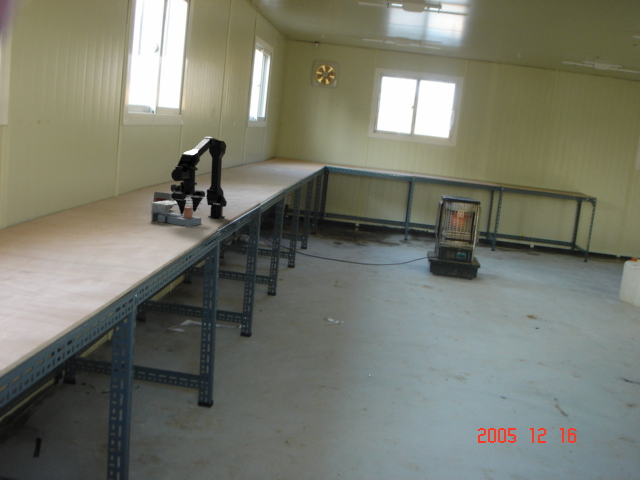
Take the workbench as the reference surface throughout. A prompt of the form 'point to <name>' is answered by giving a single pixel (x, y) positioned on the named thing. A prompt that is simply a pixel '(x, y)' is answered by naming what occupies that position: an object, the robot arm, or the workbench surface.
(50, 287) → the workbench surface
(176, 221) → the socket board
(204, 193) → the robot arm
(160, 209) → the awning
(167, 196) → the voltmeter
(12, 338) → the workbench surface
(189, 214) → the peg
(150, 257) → the workbench surface
